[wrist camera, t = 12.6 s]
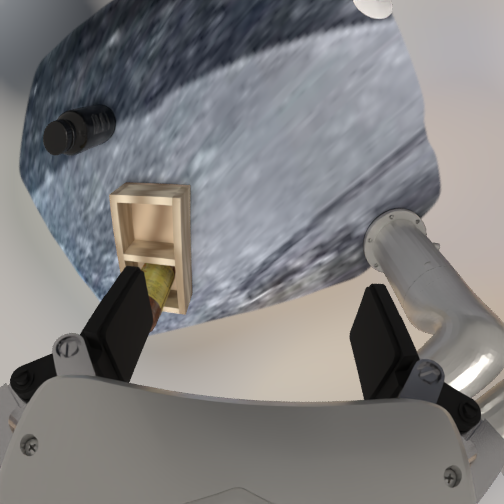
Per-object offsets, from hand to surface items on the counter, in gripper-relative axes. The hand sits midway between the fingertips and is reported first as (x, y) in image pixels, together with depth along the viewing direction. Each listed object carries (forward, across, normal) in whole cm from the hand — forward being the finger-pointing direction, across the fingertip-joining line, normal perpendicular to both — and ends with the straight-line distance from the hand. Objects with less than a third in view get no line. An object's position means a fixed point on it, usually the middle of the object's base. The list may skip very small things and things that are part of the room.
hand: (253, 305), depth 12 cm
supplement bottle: (+34, +27, -5) cm, 43 cm away
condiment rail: (+34, +17, +16) cm, 41 cm away
